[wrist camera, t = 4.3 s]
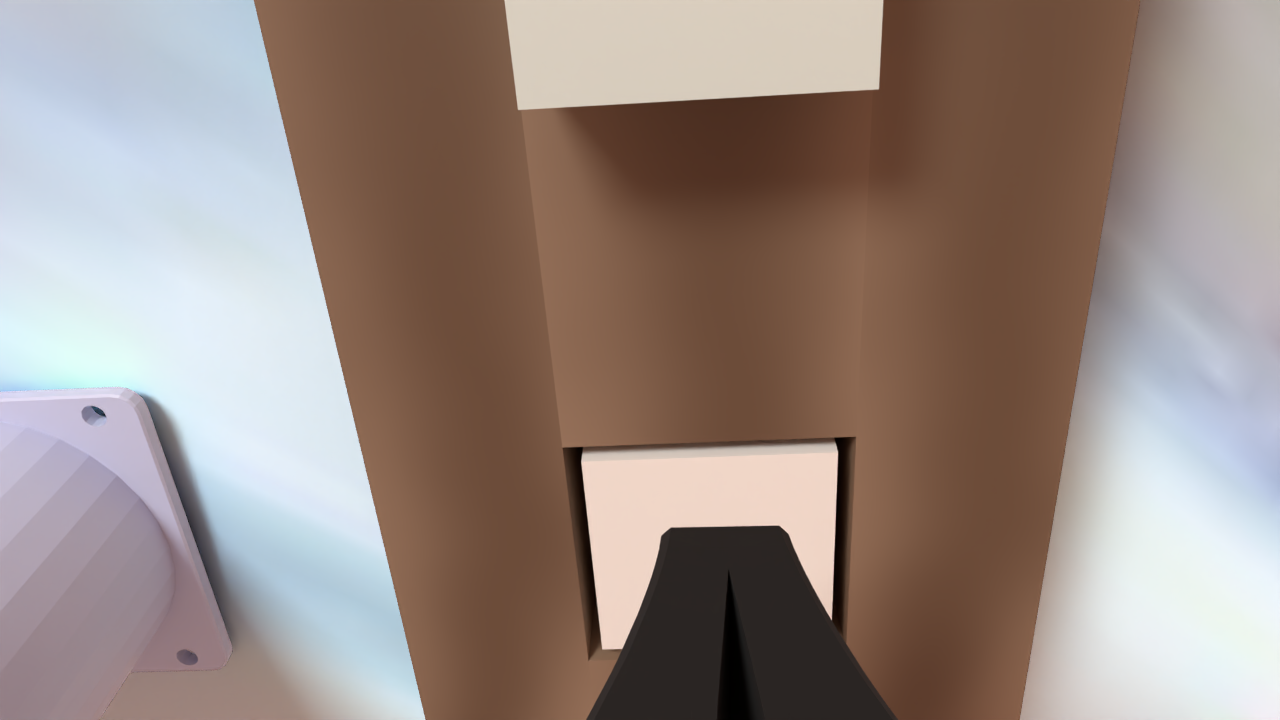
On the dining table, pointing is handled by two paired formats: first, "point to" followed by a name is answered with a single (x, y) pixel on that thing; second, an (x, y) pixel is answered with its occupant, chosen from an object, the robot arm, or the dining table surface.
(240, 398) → the dining table surface
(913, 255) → the panel
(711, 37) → the key front
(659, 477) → the pale pink block
